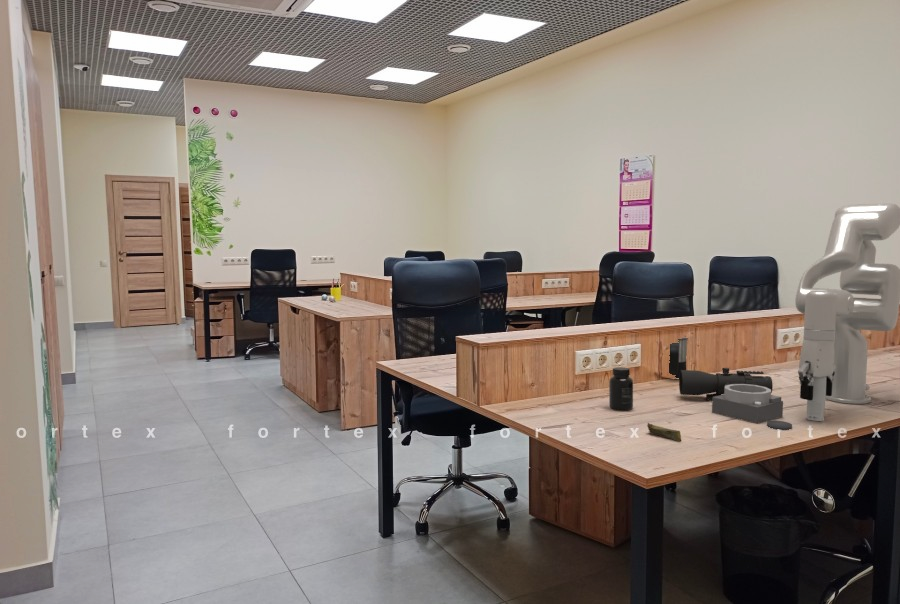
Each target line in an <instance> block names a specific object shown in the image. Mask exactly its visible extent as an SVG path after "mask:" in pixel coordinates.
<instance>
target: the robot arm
mask: <svg viewBox="0 0 900 604" xmlns="http://www.w3.org/2000/svg"><path fill="white" fill-rule="evenodd" d="M899 228H900V206H899V205H898V204H896V203H871V204H870V203H866V204H865V203H864V204H863V203H862V204H850V205H844V206H840V207H839V208H838V209H836V211H835V213H834V218H833V220H832V223H831V227H830V230H829V231H830V232H829V235H828V238H827V239H828V240H827V243H826V246H825V250H824V253H823V254H824V255H823V256H822V257H821V258H819V259H818V260H816V261H815V262H813V263H812V264H811V265H810V266H809V267H807V269H806V270H805V271H804V272H803V273H802V276H801V278H800V279H799V283H798V286H797V289H796V290H797V292H796V294H795V302H794V303H795V308H796V310H797V311H798V312H800V313H801V314H804V318H803V319H804V321H803V322H804V324H803V340H802V345H801V349H800V355H799V363H798V371H797V373H798V381H799V385H800V390H799V391H800V393H799V398H800V399H801V400H813V386H811V385H812V383H813V381H814V379H815V378H821V377H826V376H827V377H826V398H825V400H829V401H832V402H836V403H840V404H841V403H842V404H855V405H861V404H862V405H864V404H869V403H871V402H872V398H871V396H869V395H866V392H867V391H869V390H870V388H871V387H870V385H869V384H867V370H868V369H867V368H868V353H869V351H868V350H869V349H868V348H869V347H868V341H867V339H866V338H865V336H864V335H863V333H862V332H860V331H861V330H862V331H873V332H874V331H876V332H890V331H893V330H894V329H895V327H896V326H897V324H898V318H899V314H900V313H899V311H900V268H899V266H898V265H896V264H892V263H875V261H876V255H877V254H876V253H877V248H876V245H875V244H874V242H872V241H884V240H887V239H888V238H890V237H891V236H892V235H893V234H894V233H895V232H897V230H898V229H899ZM838 273H840V277H839V287H840V289H835V288H834V289H833V288H815V287H814V286H815V285H816V283H818V282H819V281H821V280H822V279H824V278H826V277H829V276H831V275H834V274H838ZM853 295H864V296H865V295H866V296H867V295H868V296H880V298H867V297H854V296H853ZM809 378H810V379H809ZM808 379H809V380H808Z"/></svg>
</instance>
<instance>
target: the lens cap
mask: <svg viewBox="0 0 900 604" xmlns="http://www.w3.org/2000/svg"><path fill="white" fill-rule="evenodd" d="M767 426H768V427H767ZM766 427H767V428H769V427H770V428H769V429H772V428H773V429H772V430H777V429H782V430H781V431H790V430H789V429H791V430H792V429H793V424H792V423H791V422H788V421H783V420H769V421H766Z"/></svg>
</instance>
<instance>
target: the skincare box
mask: <svg viewBox="0 0 900 604" xmlns="http://www.w3.org/2000/svg"><path fill="white" fill-rule="evenodd" d="M826 377H827V376H826ZM826 377H821V378H815V379H814V381H813V383H812V385H811V386H813V400H807V401H806V402H807V403H806V404H807V405H806V420H808V421H817V422H824V420H825V419H824V418H825V413H826ZM809 379H810V378H808V380H809Z"/></svg>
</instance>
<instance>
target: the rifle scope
mask: <svg viewBox="0 0 900 604" xmlns="http://www.w3.org/2000/svg"><path fill="white" fill-rule="evenodd" d="M721 370H722V373H720V372H717V373H715V374H714V373H710V372H705V371H702V370H689V369H686V370H680V374H679V379H678V386H679V387H678V389H679V394H680V395H682V396H703V395H705V399H707V401H708V402H709V401H711V402H712V397H715V396H720V395H724V388H725V386H726V385H731V384H749V385H757V386H763V387H766V388H769V389H771V394H772V393H773V385H774V383H773V379H772V377H771V376H768V375H767V376H766V375H765V376H763V375H764V371H762V370H760V371H759V370H757V371H755V370H753V371H752V370H748V371H747V370H736V373H730V367H722V368H721Z"/></svg>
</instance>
